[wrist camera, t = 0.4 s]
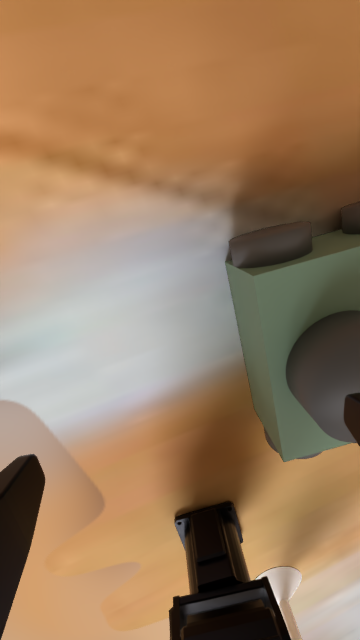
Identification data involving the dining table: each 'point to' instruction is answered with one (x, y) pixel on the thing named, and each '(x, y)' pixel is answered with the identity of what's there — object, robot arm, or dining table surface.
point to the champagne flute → (285, 593)
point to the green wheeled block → (300, 330)
